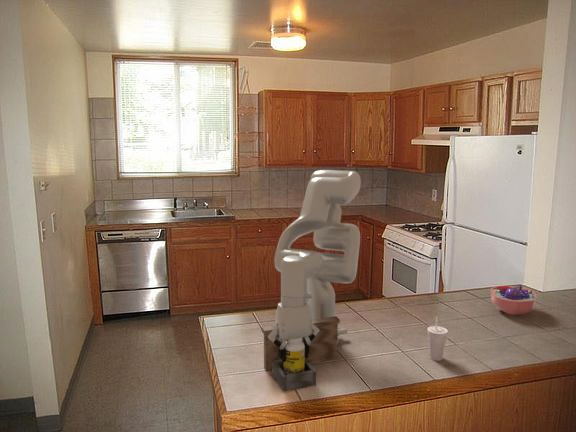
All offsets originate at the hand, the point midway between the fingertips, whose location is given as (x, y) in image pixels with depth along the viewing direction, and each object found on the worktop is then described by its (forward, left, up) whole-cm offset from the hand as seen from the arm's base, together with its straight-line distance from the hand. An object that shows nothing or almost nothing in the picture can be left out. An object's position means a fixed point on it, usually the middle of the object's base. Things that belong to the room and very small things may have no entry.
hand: (294, 357), depth 136 cm
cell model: (-102, -19, -7) cm, 104 cm away
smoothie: (-48, +3, -7) cm, 49 cm away
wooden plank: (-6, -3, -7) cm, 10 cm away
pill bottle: (0, 0, -5) cm, 5 cm away
